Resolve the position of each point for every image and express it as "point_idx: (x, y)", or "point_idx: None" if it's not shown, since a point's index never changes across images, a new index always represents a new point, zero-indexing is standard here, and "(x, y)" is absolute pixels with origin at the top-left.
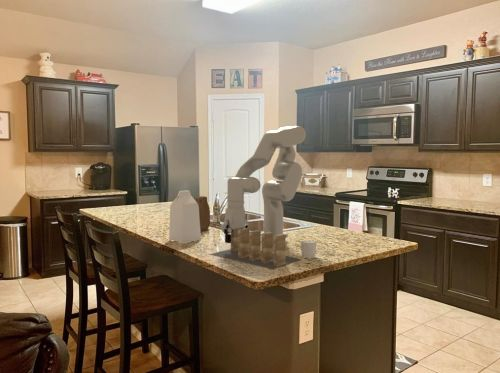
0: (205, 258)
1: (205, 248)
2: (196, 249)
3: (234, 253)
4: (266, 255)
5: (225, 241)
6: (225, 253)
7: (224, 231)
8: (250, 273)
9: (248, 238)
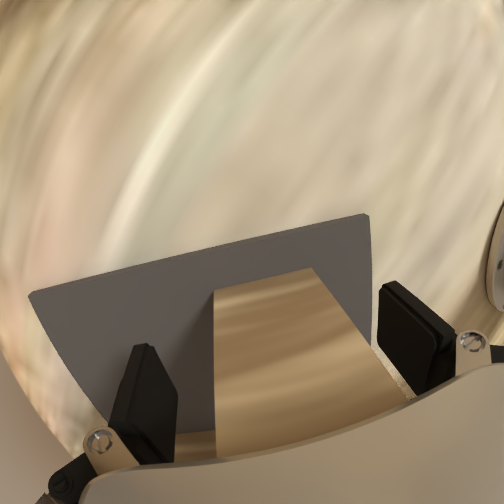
0: (11, 329)
1: (98, 45)
2: (34, 55)
3: (190, 374)
4: None
5: (135, 355)
6: (131, 344)
7: (82, 476)
8: None
9: None
